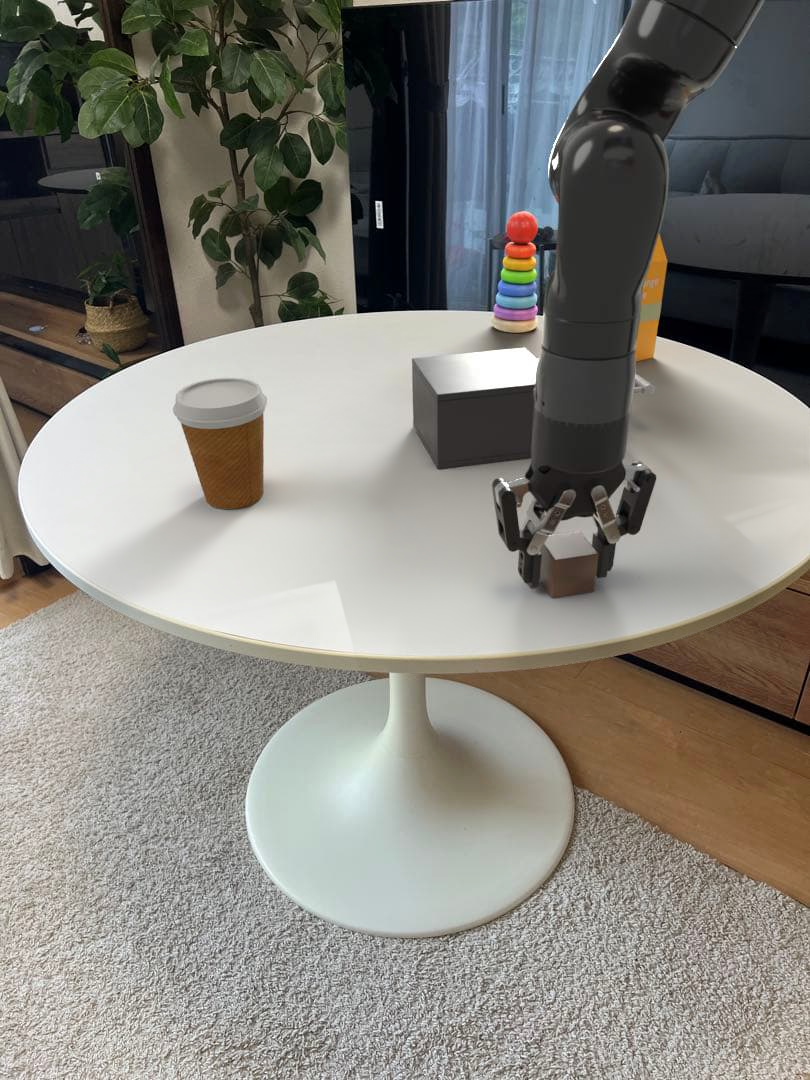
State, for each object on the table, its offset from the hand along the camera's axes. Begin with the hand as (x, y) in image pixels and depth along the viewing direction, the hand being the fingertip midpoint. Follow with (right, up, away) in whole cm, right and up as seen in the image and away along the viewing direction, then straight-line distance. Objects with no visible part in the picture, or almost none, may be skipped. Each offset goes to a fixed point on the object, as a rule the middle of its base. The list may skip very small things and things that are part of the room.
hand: (564, 577), depth 71 cm
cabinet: (-5, +16, +27) cm, 31 cm away
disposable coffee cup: (-33, +8, +16) cm, 38 cm away
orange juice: (+18, +32, +52) cm, 64 cm away
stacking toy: (+5, +40, +66) cm, 77 cm away
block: (0, -1, 0) cm, 1 cm away
